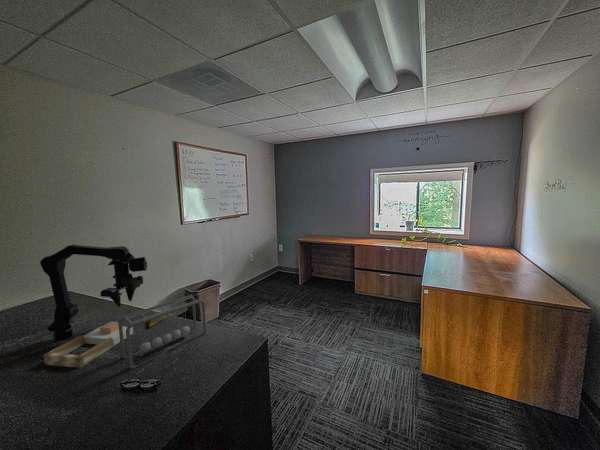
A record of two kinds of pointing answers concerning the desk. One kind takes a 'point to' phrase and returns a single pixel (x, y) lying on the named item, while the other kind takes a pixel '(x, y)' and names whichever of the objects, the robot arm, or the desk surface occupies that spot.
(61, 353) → the box
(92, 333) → the plate
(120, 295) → the robot arm
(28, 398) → the desk surface
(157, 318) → the shard
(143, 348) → the newton's cradle
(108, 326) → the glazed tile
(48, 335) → the desk surface
